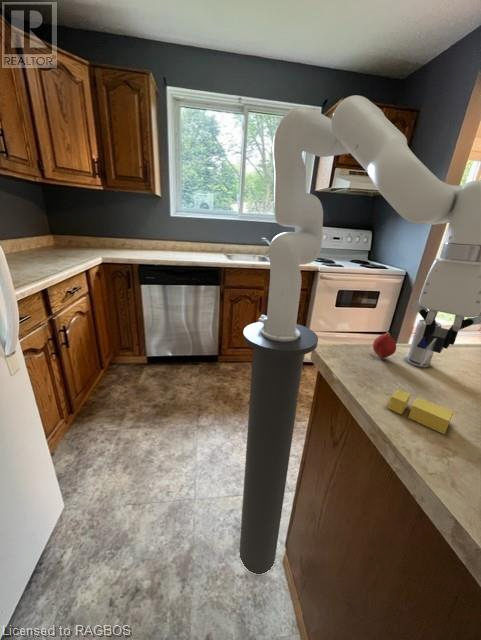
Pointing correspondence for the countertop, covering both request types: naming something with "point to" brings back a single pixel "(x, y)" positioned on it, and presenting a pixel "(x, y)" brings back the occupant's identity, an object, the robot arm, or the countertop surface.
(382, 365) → the countertop surface
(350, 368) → the countertop surface
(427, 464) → the countertop surface
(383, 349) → the onion
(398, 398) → the butter slice
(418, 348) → the energy drink
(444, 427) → the butter block
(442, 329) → the knife
